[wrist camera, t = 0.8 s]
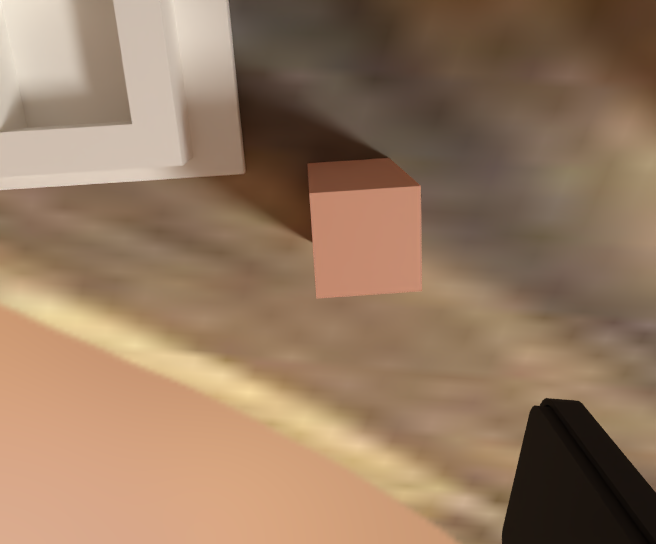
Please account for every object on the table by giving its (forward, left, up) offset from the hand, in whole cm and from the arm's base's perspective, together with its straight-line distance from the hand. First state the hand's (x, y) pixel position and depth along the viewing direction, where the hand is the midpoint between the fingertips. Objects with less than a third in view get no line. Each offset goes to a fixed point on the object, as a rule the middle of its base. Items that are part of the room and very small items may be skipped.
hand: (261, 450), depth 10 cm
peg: (-3, 0, -23) cm, 24 cm away
